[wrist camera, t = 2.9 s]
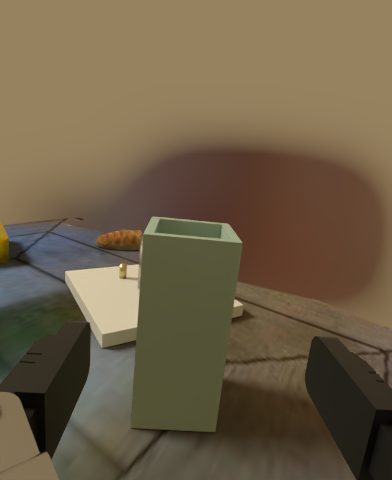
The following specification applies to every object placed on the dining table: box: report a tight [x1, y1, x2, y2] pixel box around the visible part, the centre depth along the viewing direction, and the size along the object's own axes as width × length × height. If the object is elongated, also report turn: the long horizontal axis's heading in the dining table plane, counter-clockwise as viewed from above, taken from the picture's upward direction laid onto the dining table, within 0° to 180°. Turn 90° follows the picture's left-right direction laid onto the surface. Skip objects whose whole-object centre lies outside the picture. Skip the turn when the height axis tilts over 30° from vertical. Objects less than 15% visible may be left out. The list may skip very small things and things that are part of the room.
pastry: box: [96, 230, 142, 251], centre depth 65 cm, size 9×7×4 cm
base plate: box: [65, 237, 244, 348], centre depth 42 cm, size 18×18×9 cm
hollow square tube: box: [131, 217, 243, 432], centre depth 24 cm, size 8×6×14 cm
